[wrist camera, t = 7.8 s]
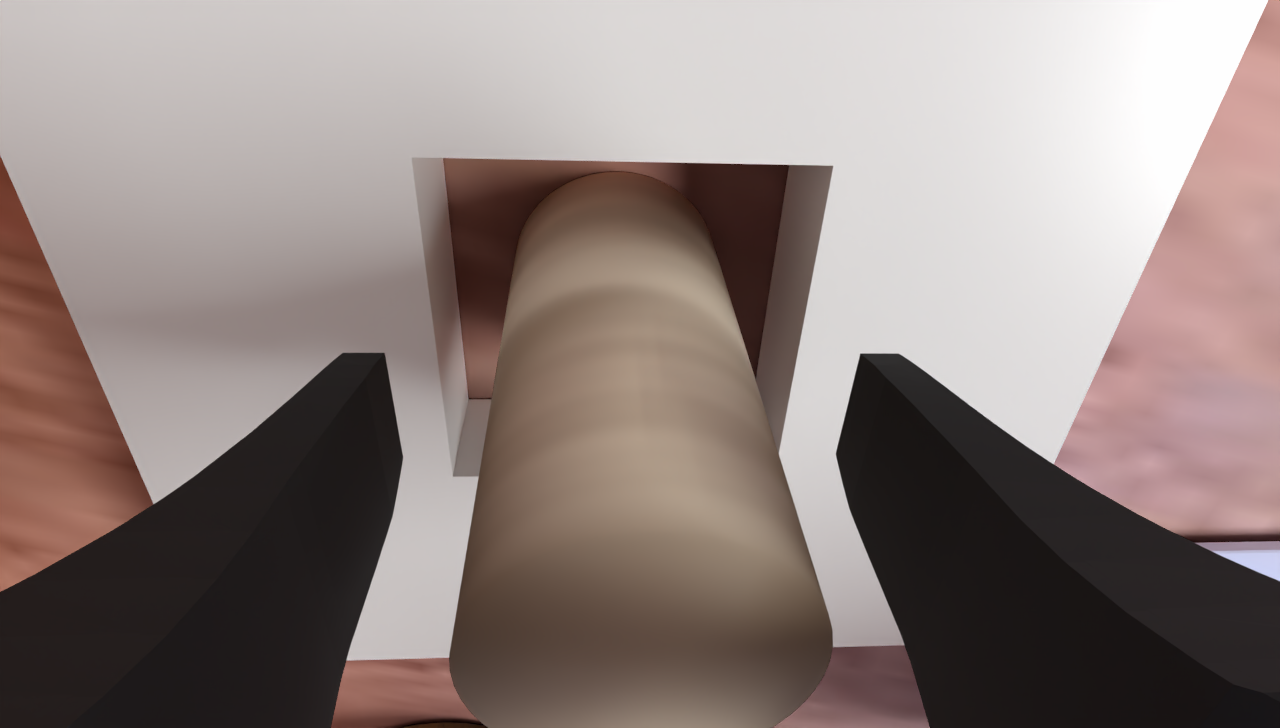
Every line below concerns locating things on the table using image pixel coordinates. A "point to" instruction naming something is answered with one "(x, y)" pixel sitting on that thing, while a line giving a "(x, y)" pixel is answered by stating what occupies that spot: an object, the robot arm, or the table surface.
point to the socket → (596, 131)
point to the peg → (631, 490)
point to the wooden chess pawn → (446, 725)
